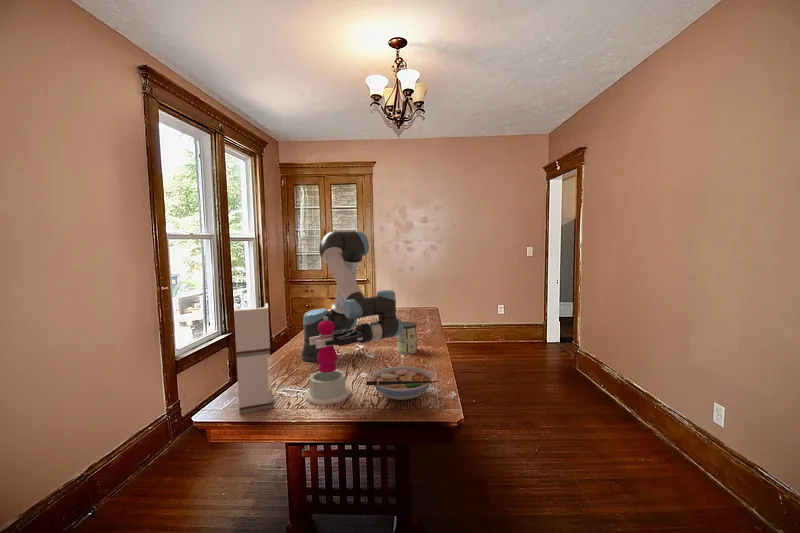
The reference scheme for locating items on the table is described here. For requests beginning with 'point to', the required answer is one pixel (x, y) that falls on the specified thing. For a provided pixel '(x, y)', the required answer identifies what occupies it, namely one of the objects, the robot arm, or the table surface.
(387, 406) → the table surface
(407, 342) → the coffee can
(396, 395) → the ramen bowl
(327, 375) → the well
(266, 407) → the spiral stair tower
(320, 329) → the pepper mill
